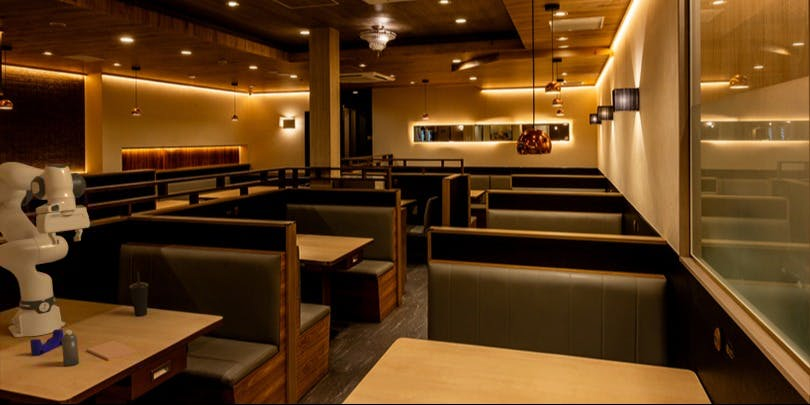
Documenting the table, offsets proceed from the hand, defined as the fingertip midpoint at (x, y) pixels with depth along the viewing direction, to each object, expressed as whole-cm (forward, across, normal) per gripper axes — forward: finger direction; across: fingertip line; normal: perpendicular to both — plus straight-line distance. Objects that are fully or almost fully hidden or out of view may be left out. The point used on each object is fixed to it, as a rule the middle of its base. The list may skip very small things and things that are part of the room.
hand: (66, 242), depth 213 cm
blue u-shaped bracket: (+40, +6, -10) cm, 41 cm away
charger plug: (+42, +14, +11) cm, 46 cm away
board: (+42, +1, +16) cm, 45 cm away
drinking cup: (+38, -38, -6) cm, 54 cm away
